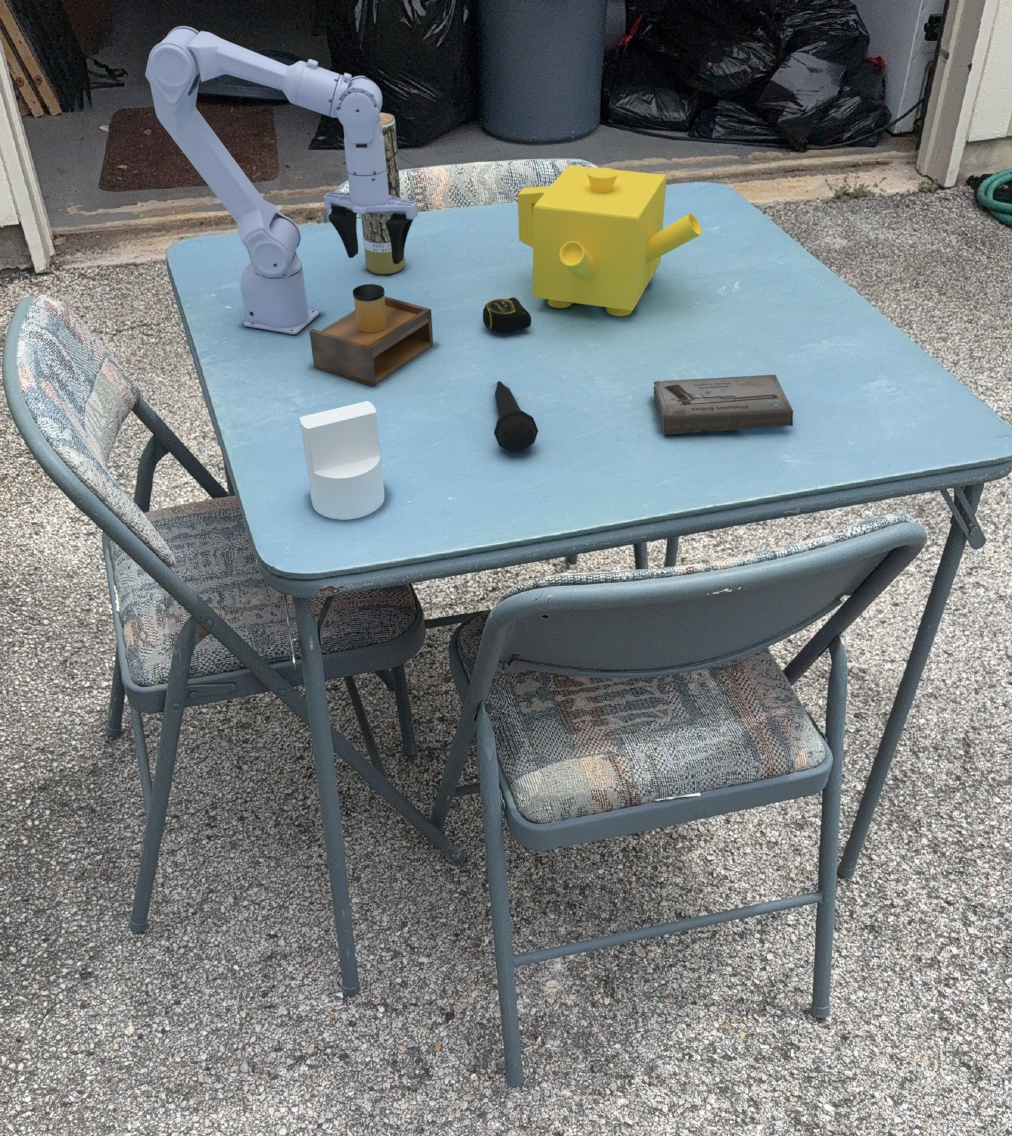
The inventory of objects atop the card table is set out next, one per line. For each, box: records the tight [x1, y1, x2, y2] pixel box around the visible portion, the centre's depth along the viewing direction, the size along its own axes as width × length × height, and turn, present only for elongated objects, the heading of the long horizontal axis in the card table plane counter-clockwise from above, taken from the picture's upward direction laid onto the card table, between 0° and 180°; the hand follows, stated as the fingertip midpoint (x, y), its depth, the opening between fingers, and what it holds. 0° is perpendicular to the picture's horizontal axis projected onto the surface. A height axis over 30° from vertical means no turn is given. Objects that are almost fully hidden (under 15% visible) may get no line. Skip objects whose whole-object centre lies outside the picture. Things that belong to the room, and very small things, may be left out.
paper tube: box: [360, 112, 406, 275], centre depth 188 cm, size 7×7×25 cm
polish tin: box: [352, 283, 387, 333], centre depth 166 cm, size 5×5×6 cm
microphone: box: [493, 380, 539, 453], centre depth 154 cm, size 6×6×20 cm
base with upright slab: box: [299, 400, 385, 521], centre depth 137 cm, size 9×9×12 cm
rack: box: [308, 295, 434, 388], centre depth 169 cm, size 11×15×6 cm
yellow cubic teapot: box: [517, 164, 703, 317], centre depth 180 cm, size 35×29×20 cm
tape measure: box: [482, 296, 532, 334], centre depth 176 cm, size 7×7×4 cm
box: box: [652, 374, 794, 436], centre depth 154 cm, size 11×17×3 cm, turn 92°
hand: (375, 258), depth 173 cm, fingers open, 7 cm apart
